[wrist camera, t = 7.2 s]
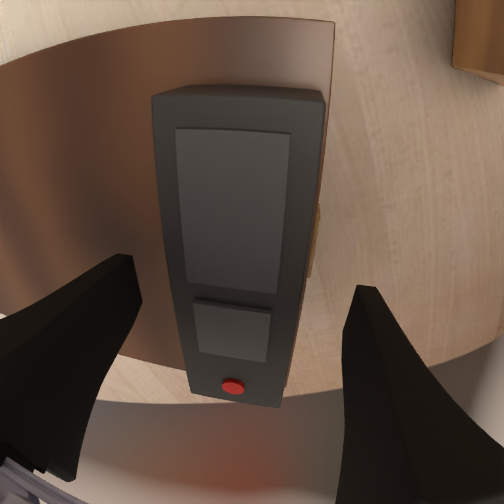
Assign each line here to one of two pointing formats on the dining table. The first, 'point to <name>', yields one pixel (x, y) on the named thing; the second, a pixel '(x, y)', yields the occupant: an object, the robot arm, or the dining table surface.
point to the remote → (237, 228)
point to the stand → (480, 38)
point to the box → (124, 151)
